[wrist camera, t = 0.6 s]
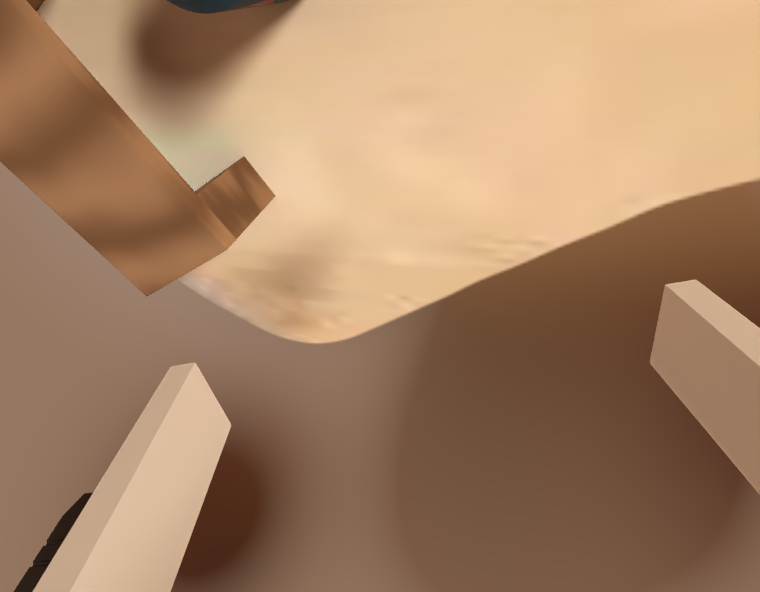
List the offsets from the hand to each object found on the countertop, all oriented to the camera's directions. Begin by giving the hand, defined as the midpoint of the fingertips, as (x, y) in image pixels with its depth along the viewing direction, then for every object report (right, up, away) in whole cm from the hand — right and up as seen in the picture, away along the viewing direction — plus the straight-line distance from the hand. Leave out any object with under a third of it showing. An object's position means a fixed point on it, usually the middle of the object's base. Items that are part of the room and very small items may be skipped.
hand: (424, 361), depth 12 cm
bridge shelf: (-21, +18, +21) cm, 35 cm away
